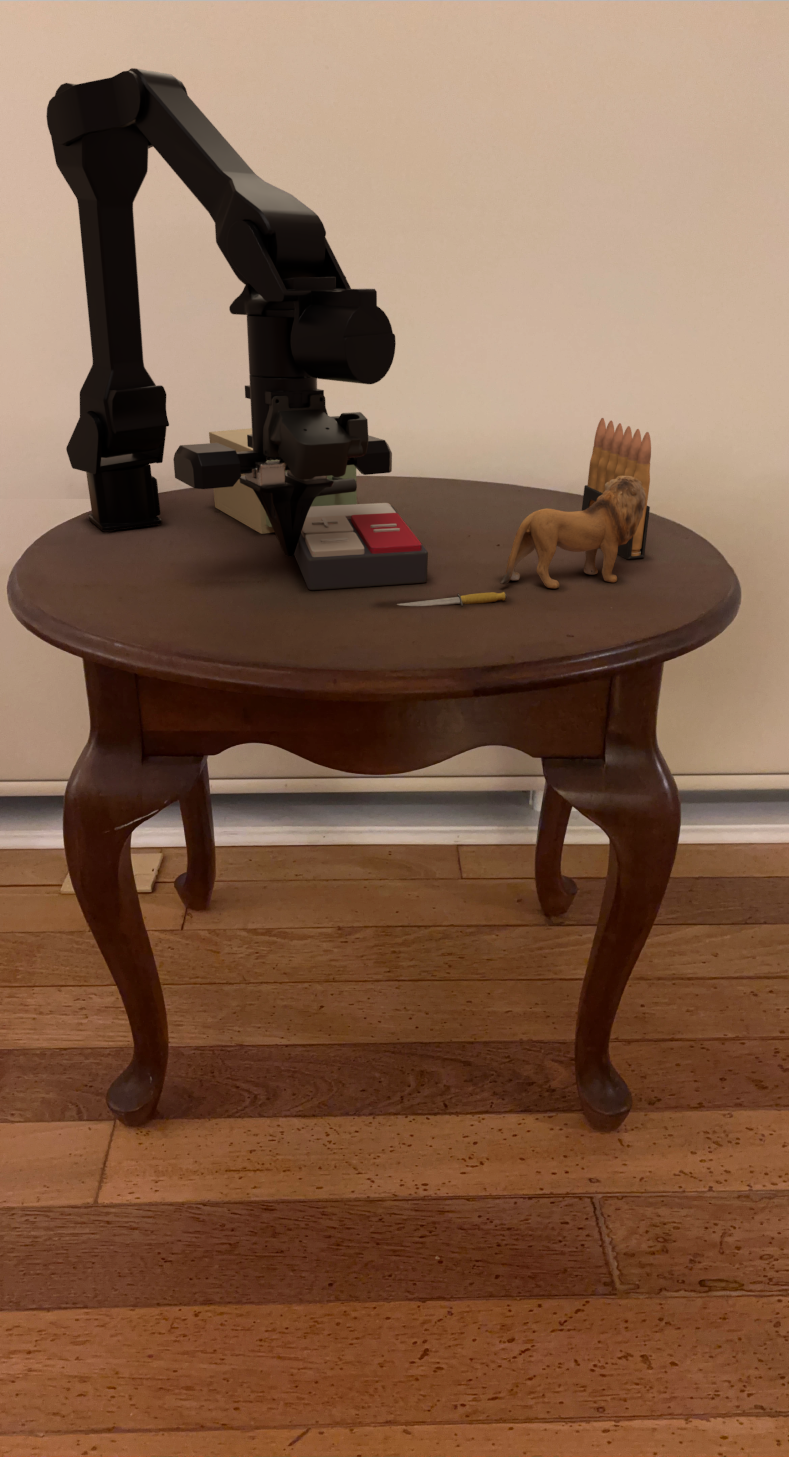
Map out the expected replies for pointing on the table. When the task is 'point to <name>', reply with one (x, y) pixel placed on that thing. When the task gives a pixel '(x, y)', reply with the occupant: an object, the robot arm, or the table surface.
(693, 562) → the table surface
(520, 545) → the lion figurine
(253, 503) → the cabinet
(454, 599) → the dagger
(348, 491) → the drawer
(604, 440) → the ammunition clip
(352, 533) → the calculator
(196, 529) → the table surface
